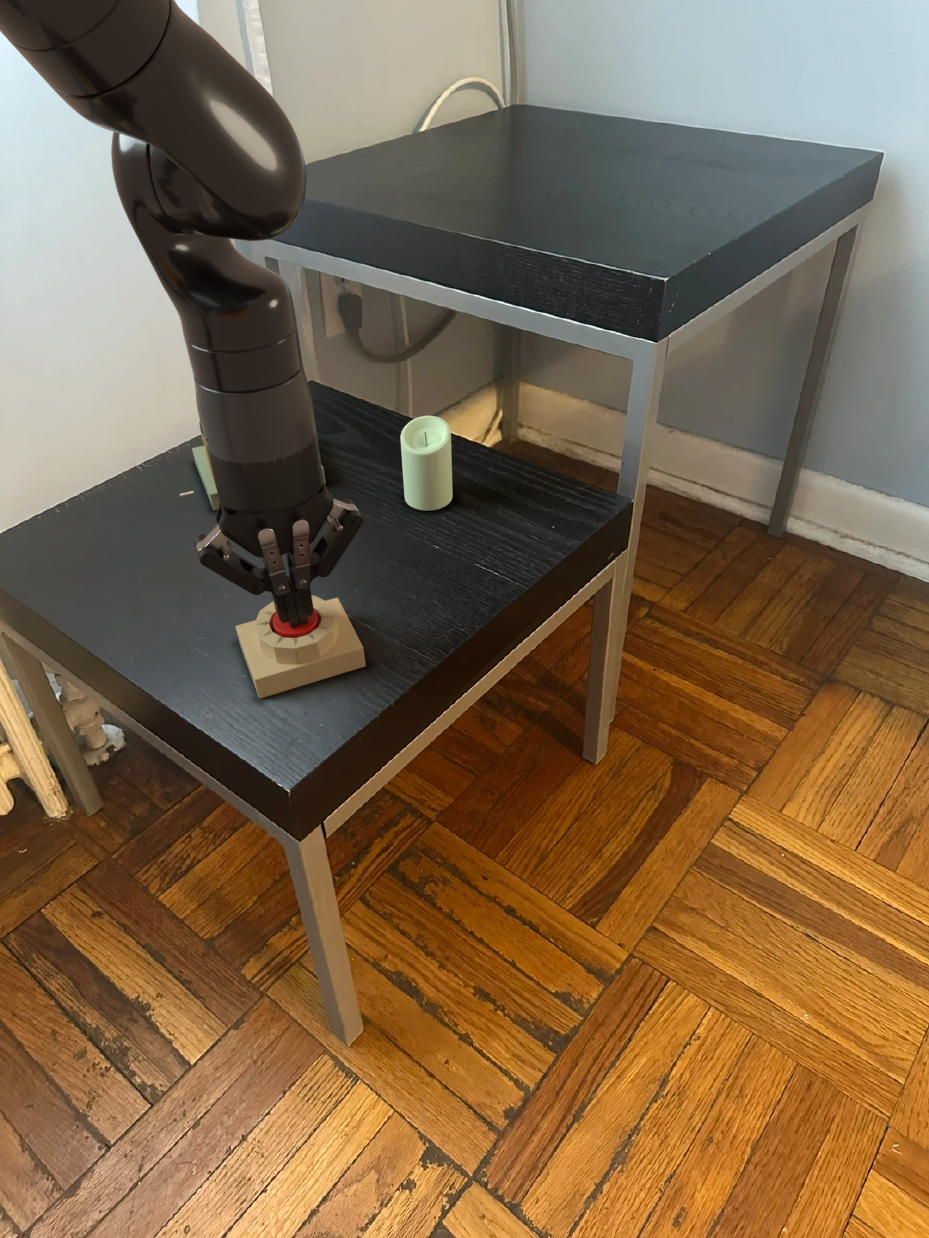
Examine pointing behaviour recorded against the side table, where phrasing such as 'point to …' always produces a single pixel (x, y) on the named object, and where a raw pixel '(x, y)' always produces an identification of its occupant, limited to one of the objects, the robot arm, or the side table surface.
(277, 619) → the button
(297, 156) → the robot arm
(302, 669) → the button box
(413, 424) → the candle
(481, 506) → the side table surface
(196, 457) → the plate
